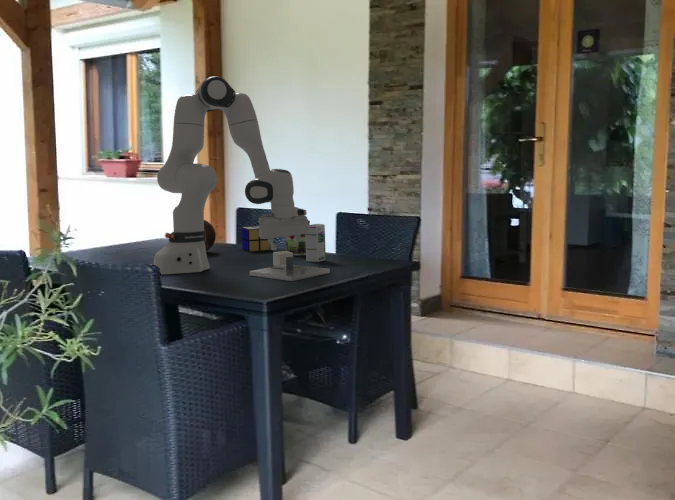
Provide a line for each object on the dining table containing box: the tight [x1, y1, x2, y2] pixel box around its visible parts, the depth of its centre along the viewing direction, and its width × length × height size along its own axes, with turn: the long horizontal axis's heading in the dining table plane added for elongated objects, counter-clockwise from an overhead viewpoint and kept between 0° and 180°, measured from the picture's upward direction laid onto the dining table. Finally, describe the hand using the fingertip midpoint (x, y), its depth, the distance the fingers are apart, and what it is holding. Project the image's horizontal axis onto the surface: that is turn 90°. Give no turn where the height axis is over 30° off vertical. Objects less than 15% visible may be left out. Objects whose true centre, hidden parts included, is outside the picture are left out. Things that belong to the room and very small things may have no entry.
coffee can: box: [285, 219, 311, 256], centre depth 298 cm, size 10×10×14 cm
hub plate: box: [248, 256, 331, 282], centre depth 247 cm, size 20×20×6 cm
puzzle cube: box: [241, 225, 271, 253], centre depth 313 cm, size 10×10×10 cm
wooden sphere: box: [204, 219, 217, 252], centre depth 304 cm, size 15×15×15 cm
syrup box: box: [305, 223, 327, 263], centre depth 277 cm, size 6×6×14 cm
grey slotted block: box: [272, 250, 294, 267], centre depth 267 cm, size 6×6×5 cm
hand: (284, 248), depth 268 cm, fingers open, 8 cm apart
